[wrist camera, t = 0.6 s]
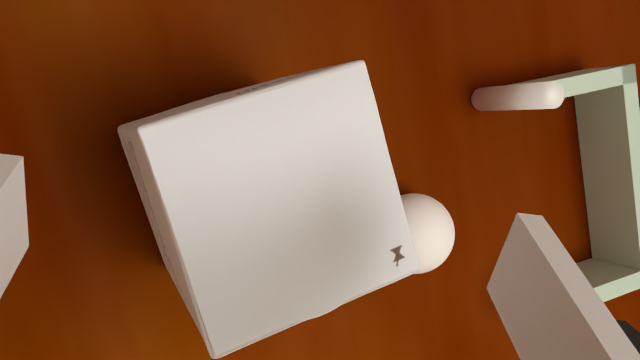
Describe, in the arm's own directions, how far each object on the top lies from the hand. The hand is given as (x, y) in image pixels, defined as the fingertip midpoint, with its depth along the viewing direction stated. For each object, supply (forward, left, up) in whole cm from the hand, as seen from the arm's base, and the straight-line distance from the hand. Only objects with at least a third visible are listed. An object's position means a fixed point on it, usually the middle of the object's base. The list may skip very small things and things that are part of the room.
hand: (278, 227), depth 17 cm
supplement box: (+1, +2, -20) cm, 20 cm away
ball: (+7, +13, -18) cm, 23 cm away
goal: (+7, +25, -20) cm, 33 cm away
